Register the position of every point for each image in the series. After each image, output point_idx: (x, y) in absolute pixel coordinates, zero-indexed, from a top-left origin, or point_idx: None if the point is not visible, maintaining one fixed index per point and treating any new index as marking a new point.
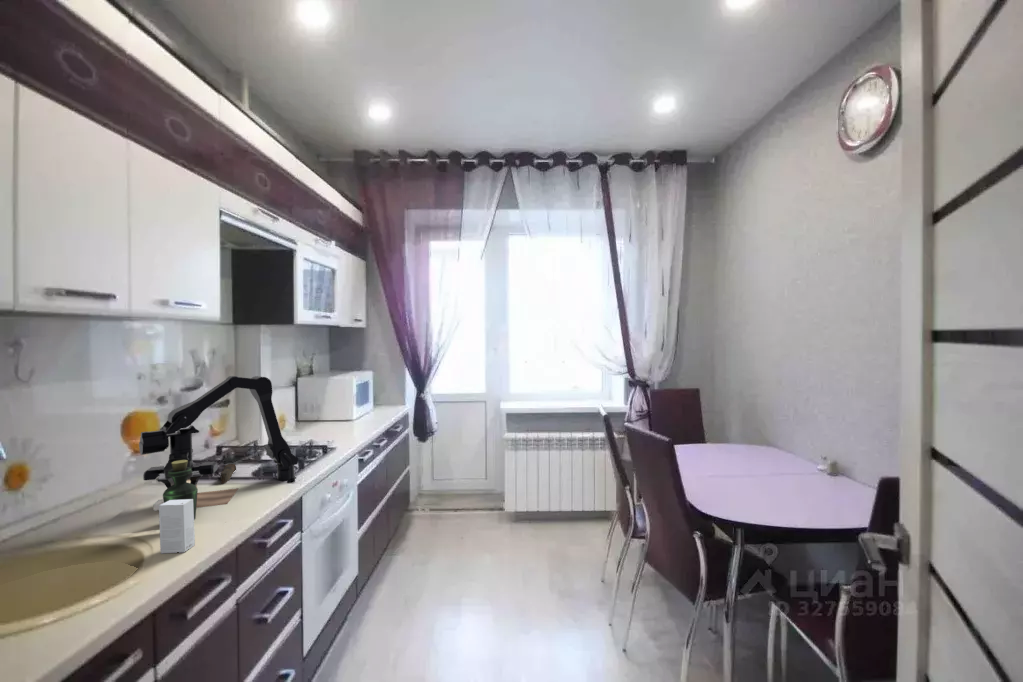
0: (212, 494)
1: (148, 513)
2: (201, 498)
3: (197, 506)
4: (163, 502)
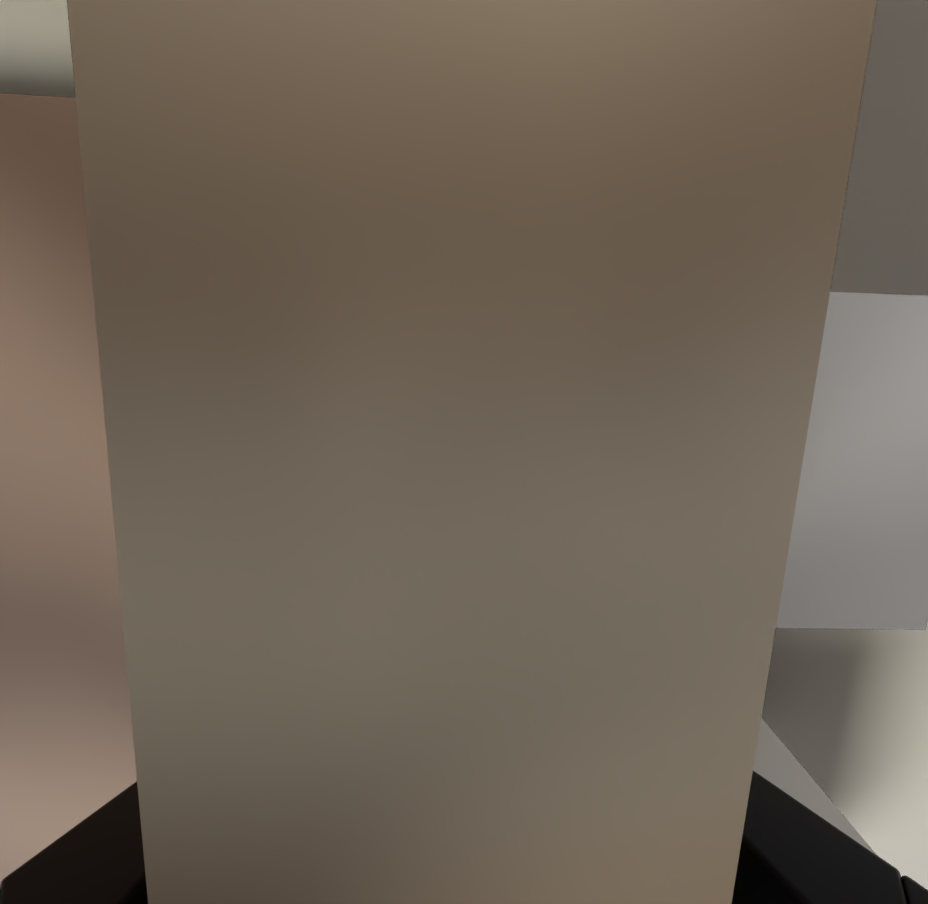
0: None
1: None
2: None
3: (11, 174)
4: None
